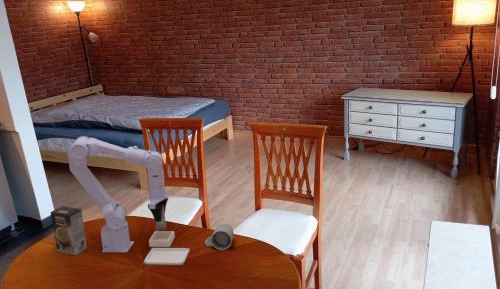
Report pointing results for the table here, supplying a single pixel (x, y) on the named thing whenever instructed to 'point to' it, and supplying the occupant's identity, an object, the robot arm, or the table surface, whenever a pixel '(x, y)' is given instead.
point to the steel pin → (161, 224)
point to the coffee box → (68, 230)
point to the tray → (167, 256)
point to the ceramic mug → (221, 237)
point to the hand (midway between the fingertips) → (160, 219)
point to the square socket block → (162, 239)
